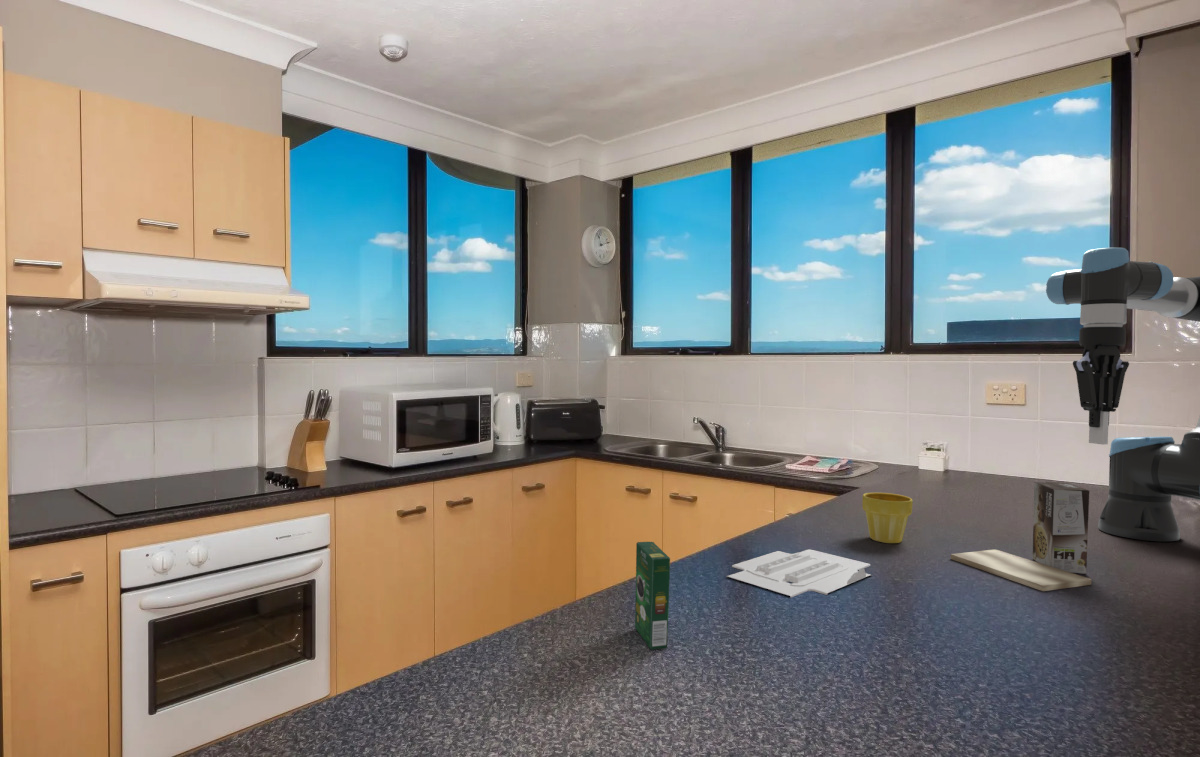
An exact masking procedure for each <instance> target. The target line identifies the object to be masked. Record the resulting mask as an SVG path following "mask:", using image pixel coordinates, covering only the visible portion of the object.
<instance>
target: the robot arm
mask: <svg viewBox="0 0 1200 757" xmlns="http://www.w3.org/2000/svg"><path fill="white" fill-rule="evenodd" d="M1129 254H1130V253H1129V250H1127V248H1125V247H1102V248H1095V249H1089V250H1087V251H1086V252H1084V253H1083V256H1082V261H1081V263H1082V264H1081V268H1080V269H1067V270H1063V271H1058V272H1055V273H1053V274H1051V275H1050V276H1049V277H1048V280H1047V281H1046V287H1045V288H1046V289H1045V291H1046V292H1045V293H1046V296H1047V297H1048V300H1049V301H1050V302H1052V303H1053V304H1056V305H1072V304H1079V305H1080V314H1079V316H1080V317H1079V318H1080V320H1079V324H1080V325H1082V326H1083V327H1080V329H1079V330H1078V331H1079V332H1078V337H1079V338H1078V344H1079V345H1080V346H1081V347H1084V349H1083V352H1082V358H1080V359H1079V360H1073V362H1072V367H1073V369H1074V372H1075V373H1076V380H1077V389H1078V396H1079V397H1078V398H1079V404H1080V407H1081V408H1082V409H1083V411H1086V412H1087V411H1088V426H1089V430H1088V443H1089V444H1095V445H1096V444H1097V445H1109V444H1108V443H1109V441H1108V440H1109V426H1110V412H1111V413H1113V412H1116V411H1117V409H1118V408H1119V404H1120V400H1121V395H1122V391H1123V387H1124V386H1123V385H1124V381H1125V376H1126V372H1127V370H1128V368H1129V366H1130V362H1129V360H1128V361H1123V360H1122V358H1121V352H1120V347H1123V346H1125V345H1126V342H1127V341H1126V340H1127V339H1126V338H1127V329H1126V327H1123V326H1124V325H1126V324H1127V318H1128V316H1127V314H1128V309H1129V310H1135V311H1136V310H1138V311H1146V312H1153V313H1154V312H1155V313H1156V312H1157V313H1158V314H1159V315H1161V316H1163V317H1165V318H1171V319H1179V320H1186V321H1192V322H1198V323H1199V322H1200V276H1199V275H1198V276H1194V277H1193V276H1192V277H1180V276H1178V277H1177V276H1176V277H1175V276H1174V273H1173V272H1172V270H1171V269H1170V267H1168V266H1167V265H1164V264H1162V263H1158V262H1153V261H1147V262H1146V261H1136V260H1135V261H1133V260H1131V258H1130V257H1129V256H1130V255H1129ZM1198 416H1199V417H1198V420H1197V423H1196V425H1195V426H1196V427H1195V428H1193V429H1192V430H1190V431H1187V432H1185V433H1184V435H1183V438H1182V440H1181V443H1180V444H1179V443H1176V442H1175V440H1174V437H1172V436H1131V437H1130V436H1128V437H1127V436H1125V437H1116V438H1114V439H1113V440H1112V441H1111V443H1110V450H1109V454H1108V457H1109V466H1108V469H1109V471H1108V474H1109V475H1108V498H1107V500H1106V503H1105V504H1104V507H1103V509H1102V511H1101V513H1100V516H1099V517H1098V529H1099V530H1100V531H1102V532H1104V533H1105V534H1110V535H1114V536H1118V537H1122V538H1127V539H1128V538H1129V539H1134V540H1139V541H1149V542H1164V543H1165V542H1177V541H1180V539H1181V528H1180V527H1179V523H1178V519H1177V518H1176V514H1175V512H1174V509H1173V506H1172V496H1173V497H1179V498H1186V499H1192V500H1197V501H1200V415H1198Z"/></svg>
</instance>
